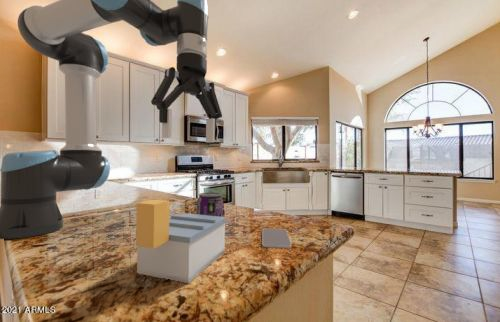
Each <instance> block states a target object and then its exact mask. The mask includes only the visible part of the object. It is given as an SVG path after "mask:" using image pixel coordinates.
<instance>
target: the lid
mask: <svg viewBox="0 0 500 322" xmlns="http://www.w3.org/2000/svg"><path fill="white" fill-rule="evenodd" d="M170 207H171V206H170V200H165V199H164V200H162V199H150V200H146V201H145V200H144V201H140V202H136V221H135V223H136V228H135V247H138V246H140V247H146V248H152V249H154V248H156V247H158V246H160V245H162V244H164V243H166V242H168V241H176V242H183V243H191V242H193V241H195V240H196V239H198V238H200V237H201V236H203V235H205V234H206V233H208V232H210V231H211V230H213V229H215V228H217V227H218V226H220V225H222V224H223V223H225V224H226V223H227V219H228V218H227V216H223V217H219V216H208V215H198V214H197V213H196V214H195V213H186V212H185V213H184V212H183V213H181V214H178V215H177V214H176V215H175V214H172V215H170Z"/></svg>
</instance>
